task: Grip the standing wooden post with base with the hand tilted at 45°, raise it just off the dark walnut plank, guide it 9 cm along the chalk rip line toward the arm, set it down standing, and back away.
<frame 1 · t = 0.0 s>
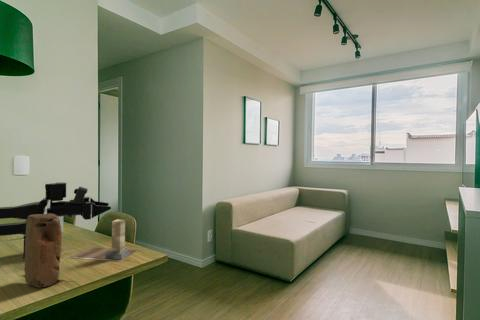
hand: (109, 206, 116), 17 cm above the table, tool horizontal, fingers open, 9 cm apart
wooden post with base: (118, 256, 100), point 1 cm above the table, touching plank
plank: (104, 257, 102), on the table
storage container: (44, 230, 137), on the table
block: (43, 282, 82), on the table
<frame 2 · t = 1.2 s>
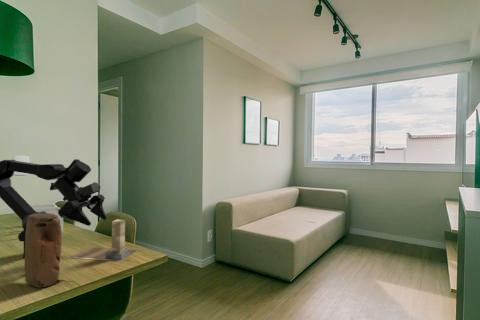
hand: (98, 221, 100), 14 cm above the table, tool tilted 45°, fingers open, 9 cm apart
nothing on the table moved.
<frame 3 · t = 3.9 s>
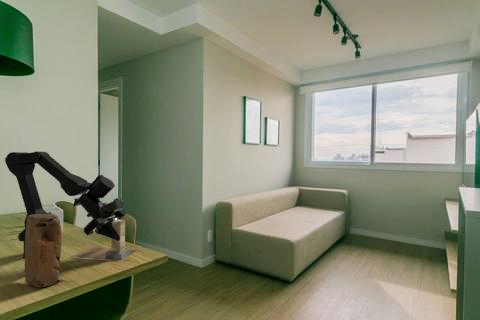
hand: (122, 238, 99), 8 cm above the table, tool tilted 45°, fingers closed on wooden post with base, 3 cm apart
wooden post with base: (118, 256, 100), point 1 cm above the table, touching gripper, plank
everything else where it was.
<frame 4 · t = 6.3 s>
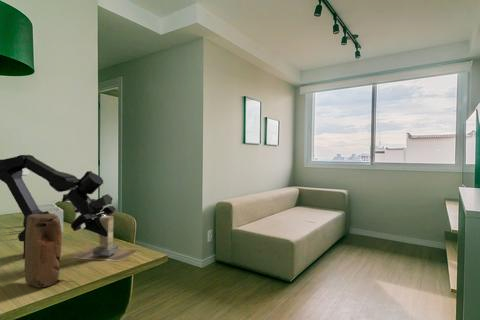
hand: (110, 234, 100), 9 cm above the table, tool tilted 45°, fingers closed on wooden post with base, 3 cm apart
wooden post with base: (105, 252, 100), point 3 cm above the table, touching gripper
everything else where it was.
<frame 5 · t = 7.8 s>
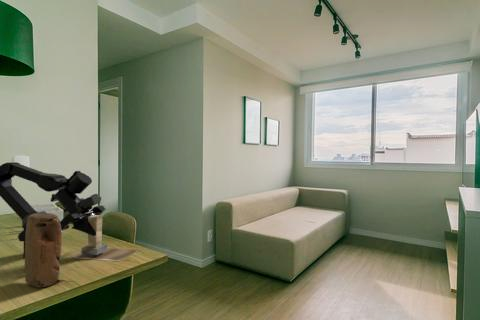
hand: (98, 233, 100), 9 cm above the table, tool tilted 45°, fingers closed on wooden post with base, 3 cm apart
wooden post with base: (94, 251, 101), point 3 cm above the table, touching gripper
everything else where it was.
when the fingers open (8 cm above the table, at t = 8.9 s): wooden post with base stays where it is, resting on plank.
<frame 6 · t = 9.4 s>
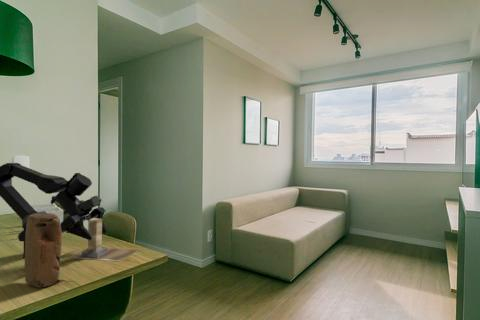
hand: (98, 235, 100), 9 cm above the table, tool tilted 45°, fingers open, 8 cm apart
wooden post with base: (94, 254, 101), point 1 cm above the table, touching plank
everything else where it was.
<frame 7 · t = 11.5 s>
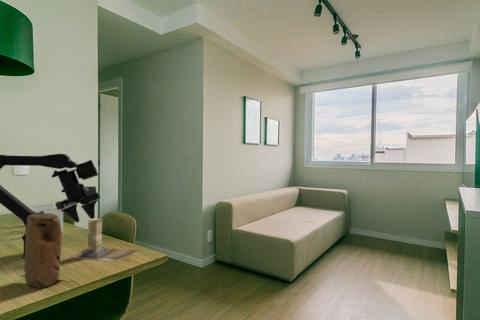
hand: (85, 220, 110), 12 cm above the table, tool tilted 20°, fingers open, 9 cm apart
nothing on the table moved.
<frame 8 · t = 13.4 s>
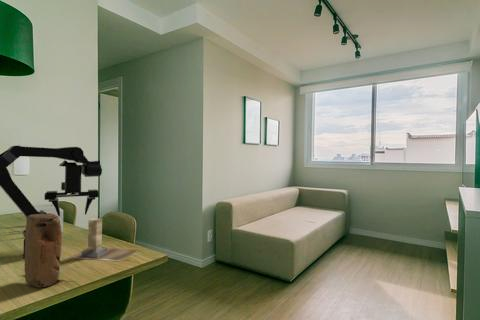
hand: (72, 215, 113), 13 cm above the table, tool pointing down, fingers open, 9 cm apart
nothing on the table moved.
at the end: wooden post with base 0.1 cm from the target spot, point 1.5 cm above the table; wooden post with base moved 9.0 cm from its start; wooden post with base tilted 0° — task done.
